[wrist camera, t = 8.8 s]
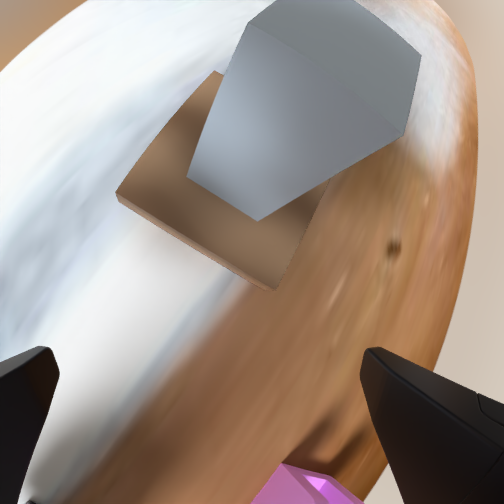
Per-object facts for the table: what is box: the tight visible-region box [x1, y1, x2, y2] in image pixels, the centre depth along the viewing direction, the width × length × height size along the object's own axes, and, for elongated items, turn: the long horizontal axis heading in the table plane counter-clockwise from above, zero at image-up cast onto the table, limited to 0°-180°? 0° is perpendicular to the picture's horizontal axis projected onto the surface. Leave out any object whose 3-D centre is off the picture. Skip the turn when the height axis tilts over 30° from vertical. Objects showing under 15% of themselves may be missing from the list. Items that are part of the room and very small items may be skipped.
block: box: [186, 0, 421, 222], centre depth 13 cm, size 5×5×12 cm
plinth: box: [115, 70, 330, 290], centre depth 19 cm, size 11×11×2 cm
